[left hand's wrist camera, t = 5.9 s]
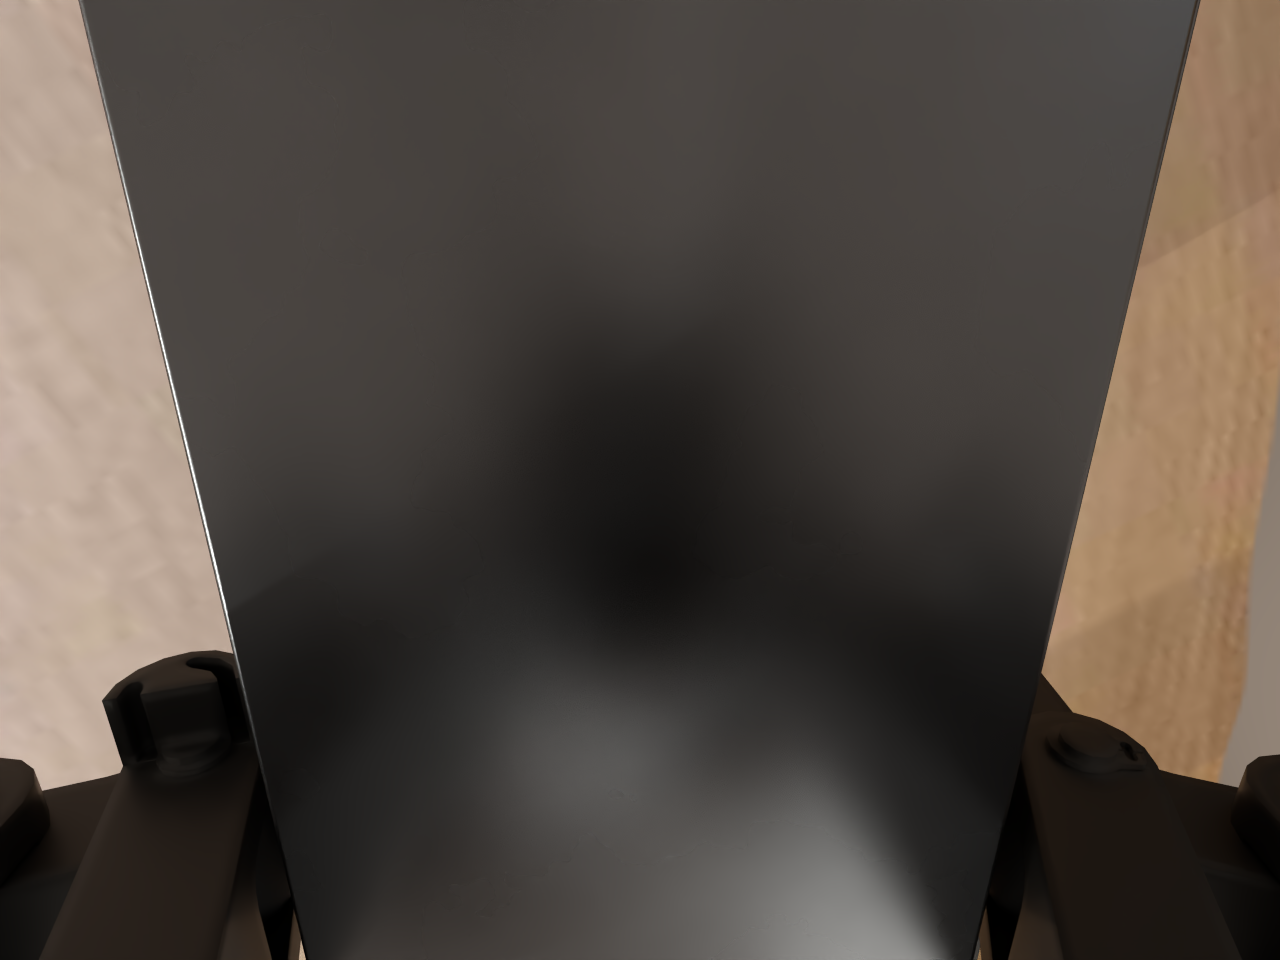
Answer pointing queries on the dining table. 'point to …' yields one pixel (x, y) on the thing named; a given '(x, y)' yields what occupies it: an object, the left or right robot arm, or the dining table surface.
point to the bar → (639, 439)
